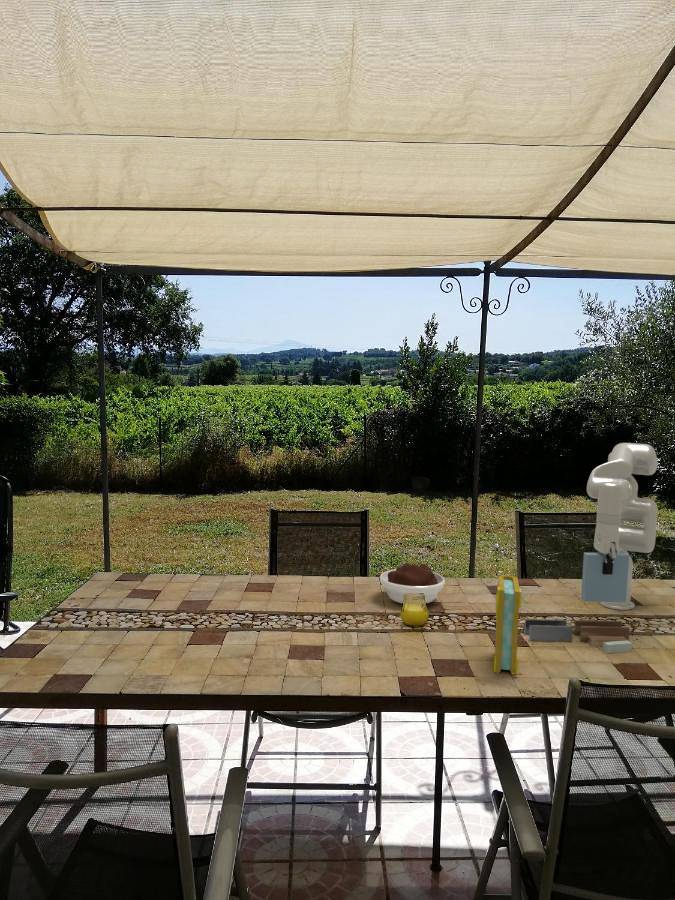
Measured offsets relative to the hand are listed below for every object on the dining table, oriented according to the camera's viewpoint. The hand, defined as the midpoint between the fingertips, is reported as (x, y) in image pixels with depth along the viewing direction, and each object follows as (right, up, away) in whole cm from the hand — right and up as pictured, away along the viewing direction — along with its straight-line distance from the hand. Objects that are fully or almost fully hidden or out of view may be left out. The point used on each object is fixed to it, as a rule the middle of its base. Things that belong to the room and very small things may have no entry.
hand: (605, 572), depth 239 cm
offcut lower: (-1, -24, -3) cm, 24 cm away
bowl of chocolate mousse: (-61, -18, +37) cm, 74 cm away
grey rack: (-19, -22, +2) cm, 29 cm away
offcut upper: (0, -23, -8) cm, 24 cm away
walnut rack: (-1, -23, +2) cm, 23 cm away
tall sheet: (0, -10, +1) cm, 10 cm away
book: (-38, -24, -20) cm, 50 cm away
